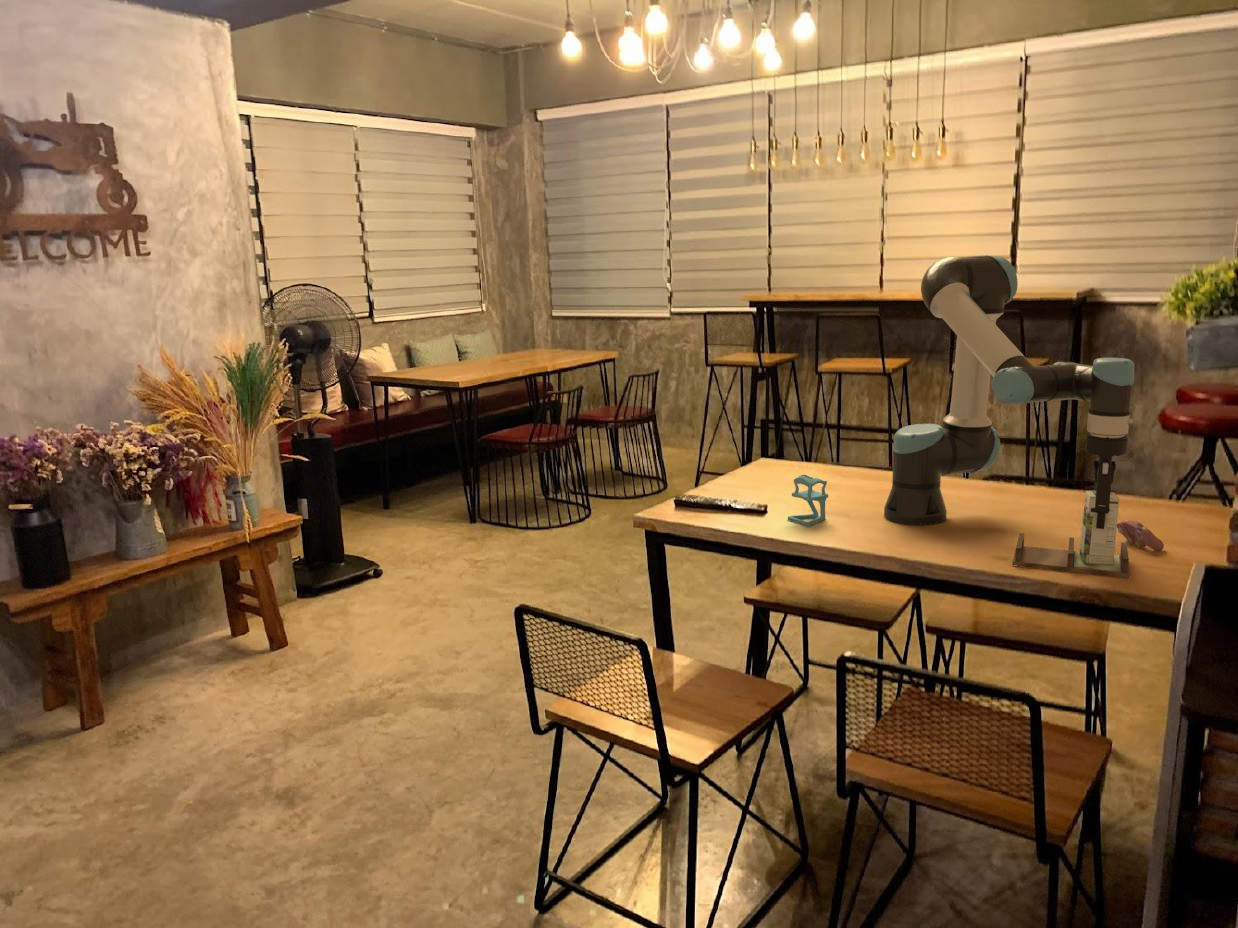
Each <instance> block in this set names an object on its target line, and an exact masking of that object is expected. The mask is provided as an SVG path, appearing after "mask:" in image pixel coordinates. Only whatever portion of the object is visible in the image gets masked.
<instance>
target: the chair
mask: <svg viewBox="0 0 1238 928" xmlns="http://www.w3.org/2000/svg"><path fill="white" fill-rule="evenodd" d="M793 482H794V483H793V484H794V488H795V490H794V492H792V493H791V497H793V498H799V499H802V500H804V501H806V502H807V504H808V506H809V508H810V509H811V511H812V513H809V514H807V513H806V514H796V515H794V514H793V515H788V516H787V520H788V521H789V520H790V522H793V523H796V524H798V525H799V524H800V525H803V526H805V527H811V526H813V525H816V524H817V523H820V522H822V521H825V520H826V501H827V499H828V498H829V493H826V487H827V483H828V480H823V479H821V478H819V477H811V476H808V475H807V474H800V475H799V476H797V477H795V478H793ZM817 484H821V485H822V487H821V489H820V490H821V492H820V491H818V490H817V491H816V490H814V489H813V487H814V486H816V485H817ZM799 485H803V486H805V487H807V490H802V491H800V490H799V489H800V488H799ZM813 501H816V502H818V503H819V507H820V508H819V509H820V510H819V511H820V514H819V512H818V509H817V507H816V506H815V504H814V502H813ZM803 519H808V520H809V519H811V520H809V521H805V520H803Z"/></svg>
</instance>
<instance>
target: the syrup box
mask: <svg viewBox="0 0 1238 928" xmlns="http://www.w3.org/2000/svg"><path fill="white" fill-rule="evenodd" d="M1084 496H1085V497H1084V506H1083V515H1082V524H1081V534H1080V542H1079V543H1080V544H1079V551H1080V557H1081V559H1082V561H1083V563H1086V564H1106V565H1113V559H1114V555H1115V549H1116V540H1117V539H1116V537H1117V531H1118V528H1117V524H1118V520H1119V519H1118V518H1119V509H1120V501H1121V500H1120V498H1119V497H1118V496H1117V494H1116V493H1115V492H1112V491H1111V492H1110V504H1109V509H1110V511H1109V517H1108V527H1107V538H1106V544H1100V543H1091V535H1092V524H1093V513H1094V512H1090V511H1091V508H1095V500H1096V491H1094V490H1086V491H1085V495H1084ZM1099 506H1102V505H1099Z"/></svg>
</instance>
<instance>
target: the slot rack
mask: <svg viewBox="0 0 1238 928" xmlns="http://www.w3.org/2000/svg"><path fill="white" fill-rule="evenodd" d="M1024 544H1025V532H1019V534H1018V538H1017V541H1016V545H1015V549H1014V554H1013V558H1012V561H1011V564H1012V565H1017V566H1016V567H1020V566H1022V567H1023V568H1029V567H1030V568H1032V569H1038V568H1041V569H1040V570H1047V569H1048V570H1049V571H1058V572H1067V573H1075V572H1076V574H1084V575H1085V574H1087V575H1095V576H1104V577H1110V578H1111V577H1114V578H1121V577H1122V578H1121V579H1130V578H1131V569H1130V562H1129V551H1128V543H1127V542H1120V552H1119V554H1114V559H1113V565H1106V564H1086V563H1083V561H1082V559H1081V557H1080V550H1075V537H1069V539H1068V547H1067V548H1068V550H1067V549H1058V548H1057V549H1055V548H1050V547H1049V548H1047V547H1040V546H1039V547H1036V546H1028V545H1024ZM1012 565H1011V566H1012ZM1030 568H1029V569H1030Z"/></svg>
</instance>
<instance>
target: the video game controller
mask: <svg viewBox="0 0 1238 928" xmlns="http://www.w3.org/2000/svg"><path fill="white" fill-rule="evenodd" d="M1117 532H1118V534H1121V535H1122V536H1123V537H1124V538H1125V539H1126V541H1127V542H1128V543H1129V544H1131V545H1133V544H1136V546H1137V547H1138V548H1140V549H1144V547H1146V546H1147V547H1148V548H1150V549H1152V550H1154V551H1156V552H1157V551H1158V552H1161V551H1163V550H1164V548H1165V547H1164V546H1165V545H1164V543H1163V541H1162V540H1161V539H1160V538H1159V537H1157V536H1156V535H1155V534H1154V533H1153V532H1152V531H1151V530H1150V529H1149V528H1148V527H1147V526H1145V525H1143V523H1142V522H1140V521H1138V520H1134V519H1132V520H1131V519H1128V518H1127V519H1126V520H1122V521H1120V522H1117Z"/></svg>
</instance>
